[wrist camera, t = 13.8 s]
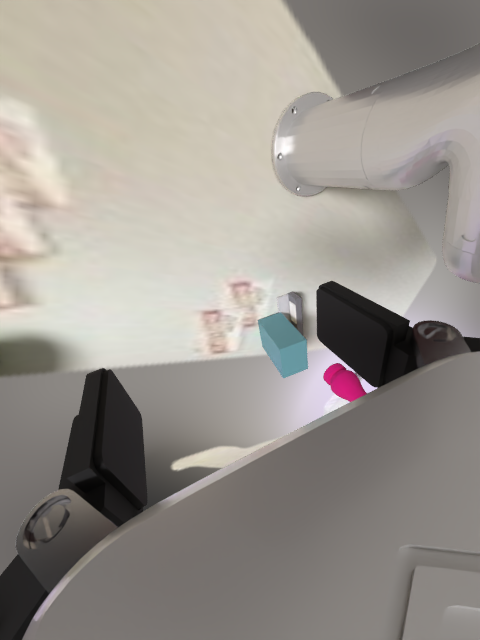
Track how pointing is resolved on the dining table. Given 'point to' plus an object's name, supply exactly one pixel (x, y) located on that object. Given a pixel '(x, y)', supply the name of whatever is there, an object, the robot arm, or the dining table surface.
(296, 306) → the rail
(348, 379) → the pepper mill
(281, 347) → the tea box
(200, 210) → the dining table surface
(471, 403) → the robot arm
